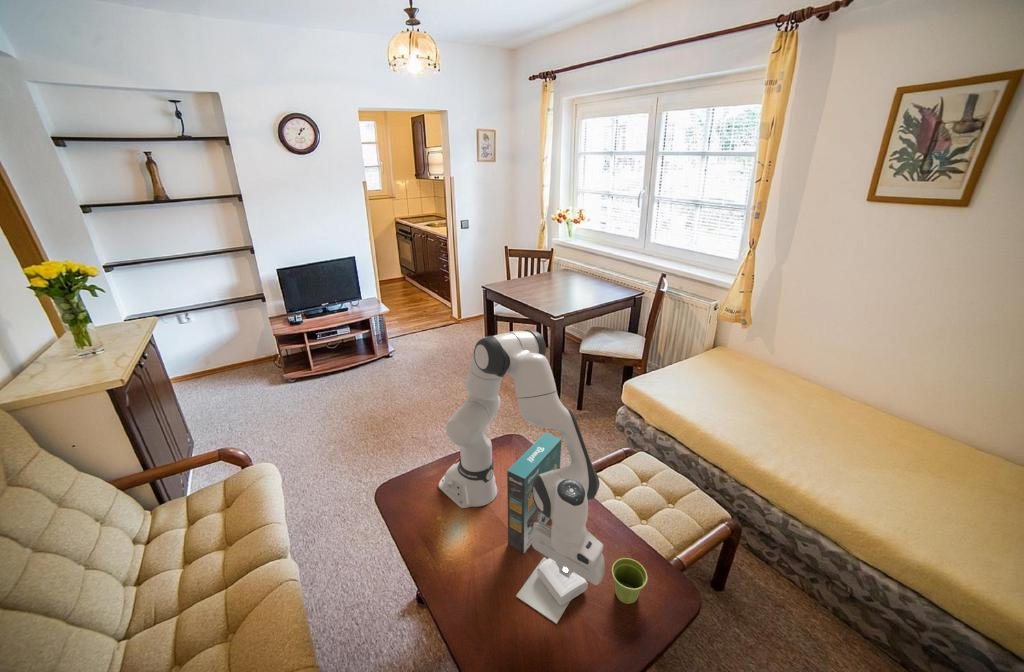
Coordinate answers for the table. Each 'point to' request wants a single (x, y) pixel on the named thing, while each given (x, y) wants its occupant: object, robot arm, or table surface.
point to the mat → (541, 597)
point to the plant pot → (628, 579)
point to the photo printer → (560, 582)
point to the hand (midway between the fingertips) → (565, 573)
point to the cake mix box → (529, 489)
